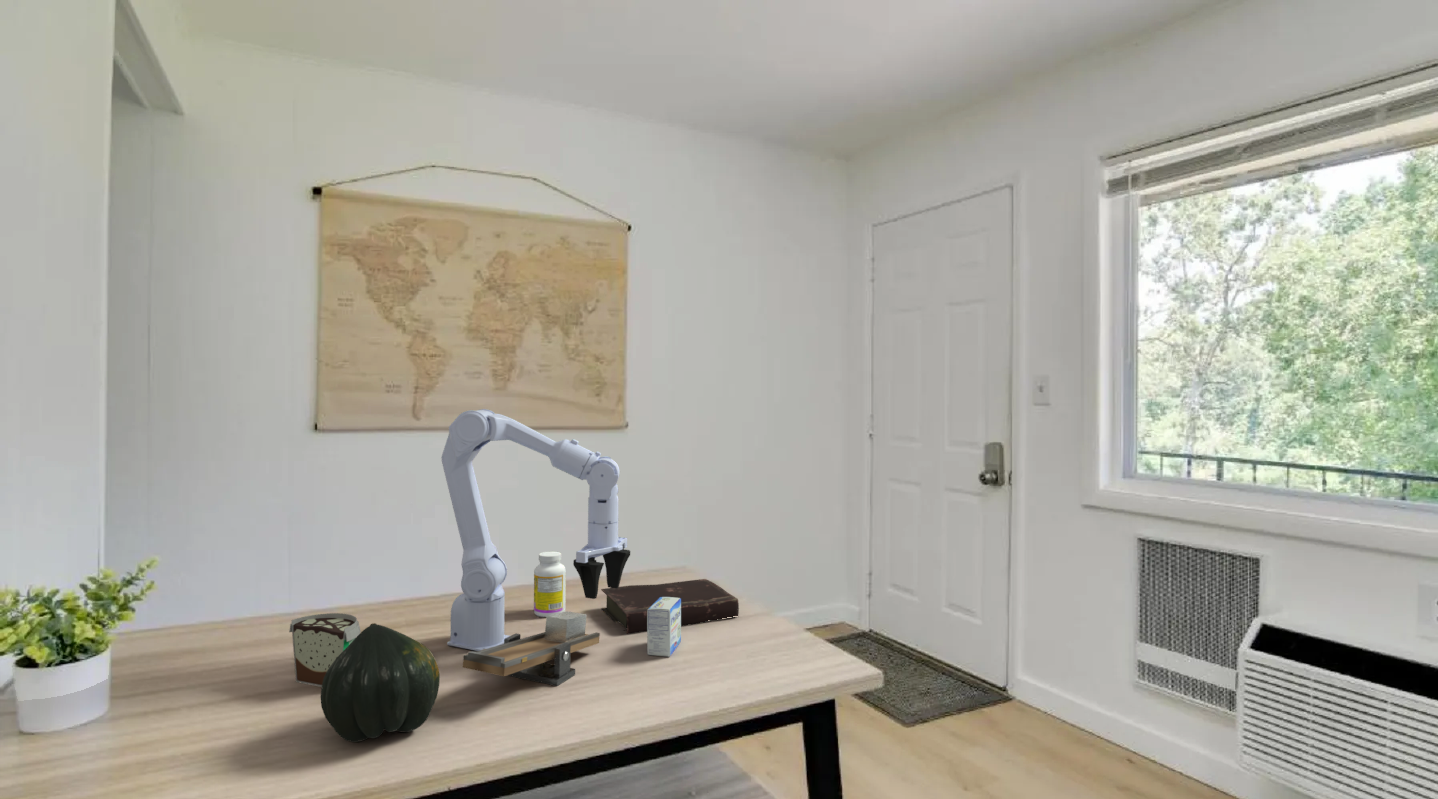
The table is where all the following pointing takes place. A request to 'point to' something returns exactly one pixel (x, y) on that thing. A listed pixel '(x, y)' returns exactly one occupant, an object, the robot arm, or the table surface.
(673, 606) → the medicine box
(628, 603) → the diary
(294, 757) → the table surface
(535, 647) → the beam
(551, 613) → the supplement bottle
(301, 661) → the food container
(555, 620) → the block
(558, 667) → the stand
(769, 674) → the table surface
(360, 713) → the squash
